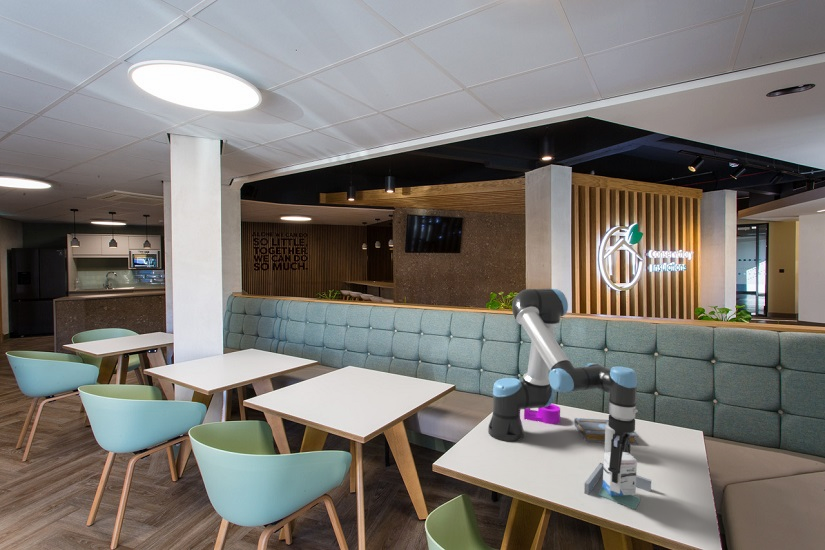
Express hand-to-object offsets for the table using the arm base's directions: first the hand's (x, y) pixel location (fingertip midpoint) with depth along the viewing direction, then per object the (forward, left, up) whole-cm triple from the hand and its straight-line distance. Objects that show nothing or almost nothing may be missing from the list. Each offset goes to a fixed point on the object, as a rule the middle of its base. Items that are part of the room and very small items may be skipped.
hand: (619, 484), depth 126 cm
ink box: (0, 0, -2) cm, 2 cm away
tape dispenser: (-44, +43, -5) cm, 62 cm away
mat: (0, 0, -4) cm, 4 cm away
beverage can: (-9, +29, -4) cm, 31 cm away
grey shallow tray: (-17, +46, -5) cm, 49 cm away
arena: (-1, +3, -4) cm, 5 cm away
